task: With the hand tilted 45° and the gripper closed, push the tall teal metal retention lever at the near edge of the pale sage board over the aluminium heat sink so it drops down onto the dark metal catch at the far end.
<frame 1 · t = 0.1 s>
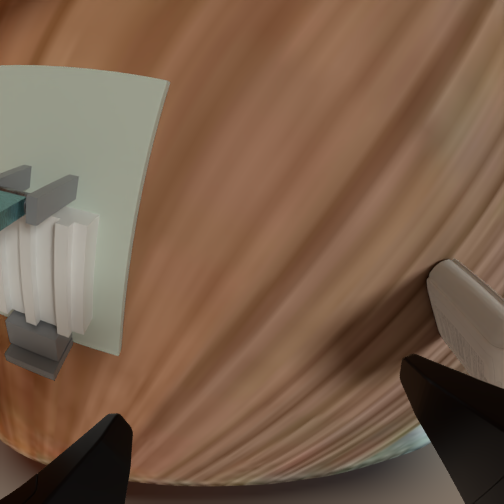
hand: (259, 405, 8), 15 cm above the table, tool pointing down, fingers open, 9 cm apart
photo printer: (445, 298, 26), on the table
heatsink board: (55, 177, 19), on the table
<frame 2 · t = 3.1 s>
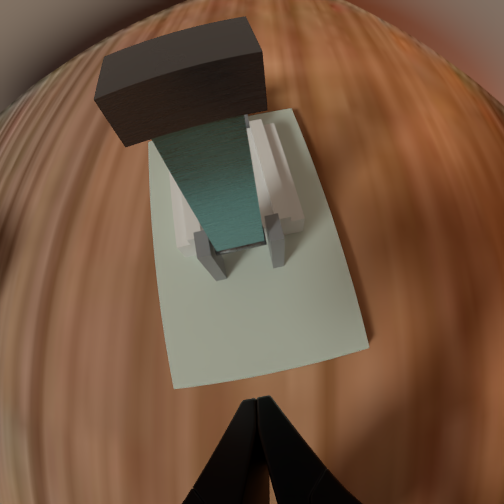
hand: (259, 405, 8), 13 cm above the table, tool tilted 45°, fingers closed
retention lever: (220, 186, 13), point 12 cm above the table, hinge at 0.0°
heatsink board: (249, 267, 24), on the table
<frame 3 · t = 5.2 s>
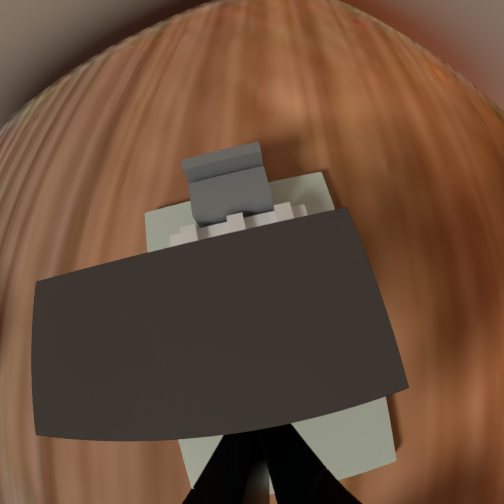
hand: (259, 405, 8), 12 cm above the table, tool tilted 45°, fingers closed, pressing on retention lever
retention lever: (255, 384, 9), point 12 cm above the table, hinge at 9.4°, touching gripper
heatsink board: (273, 382, 20), on the table
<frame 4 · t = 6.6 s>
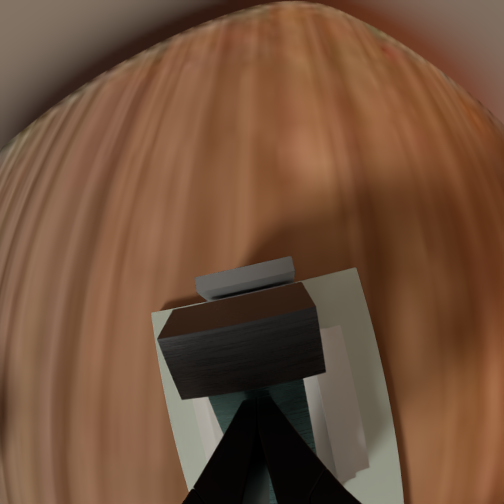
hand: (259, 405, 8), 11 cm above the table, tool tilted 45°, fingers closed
retention lever: (279, 464, 10), point 9 cm above the table, hinge at 58.3°
heatsink board: (296, 487, 16), on the table
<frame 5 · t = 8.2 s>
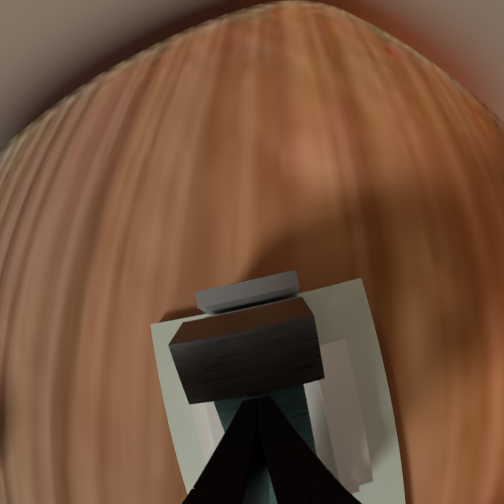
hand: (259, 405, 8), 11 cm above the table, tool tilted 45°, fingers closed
retention lever: (282, 474, 10), point 8 cm above the table, hinge at 64.5°
heatsink board: (298, 499, 16), on the table
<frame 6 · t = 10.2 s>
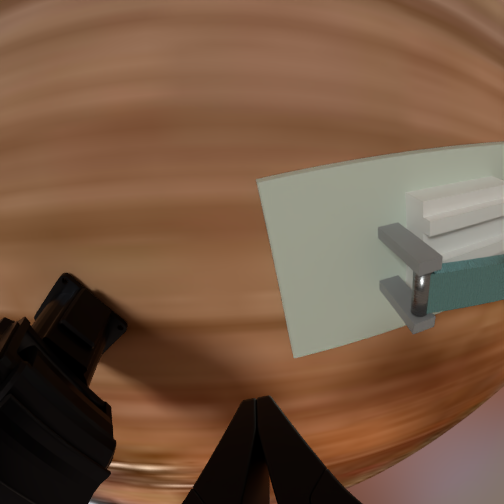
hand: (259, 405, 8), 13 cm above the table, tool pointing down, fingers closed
retention lever: (503, 277, 15), point 7 cm above the table, hinge at 74.9°
heatsink board: (382, 251, 21), on the table
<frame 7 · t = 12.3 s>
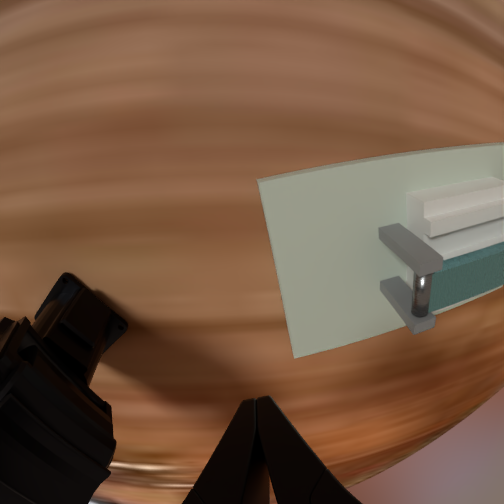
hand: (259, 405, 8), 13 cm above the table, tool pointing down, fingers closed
retention lever: (493, 267, 16), point 6 cm above the table, hinge at 88.0°
heatsink board: (383, 251, 21), on the table
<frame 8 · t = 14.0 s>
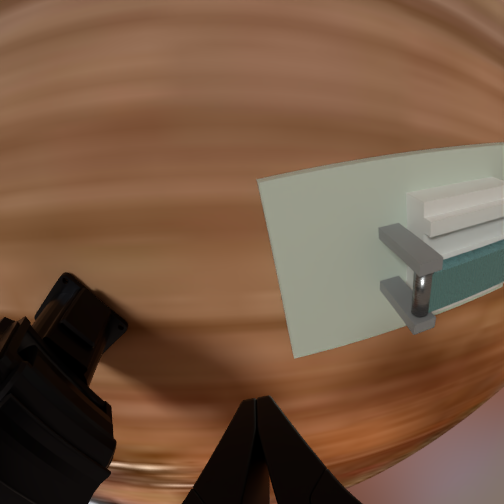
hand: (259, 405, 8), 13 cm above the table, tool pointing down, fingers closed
retention lever: (491, 265, 16), point 6 cm above the table, hinge at 90.1°
heatsink board: (383, 251, 21), on the table
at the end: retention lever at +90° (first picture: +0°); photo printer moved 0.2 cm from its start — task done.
